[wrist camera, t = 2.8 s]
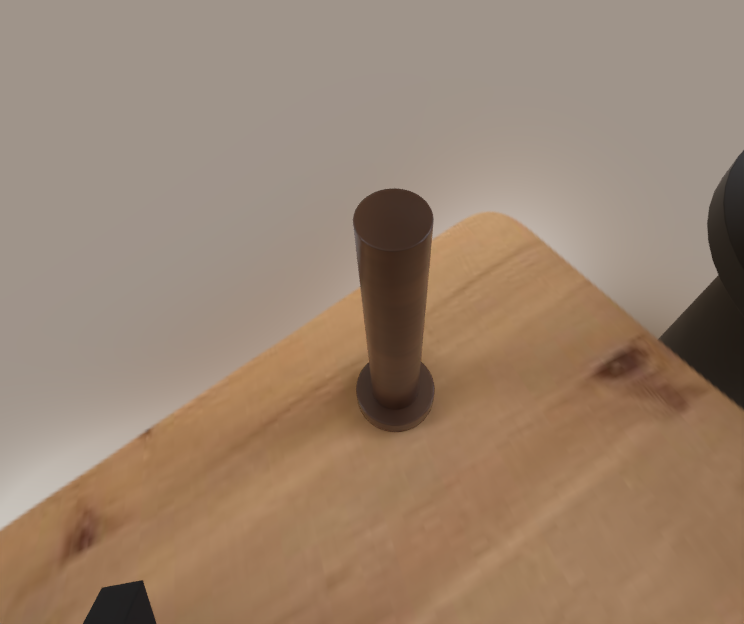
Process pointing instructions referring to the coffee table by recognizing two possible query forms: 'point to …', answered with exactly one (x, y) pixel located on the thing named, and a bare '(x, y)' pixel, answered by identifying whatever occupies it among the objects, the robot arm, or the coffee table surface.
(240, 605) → the coffee table surface
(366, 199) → the cylinder with round base
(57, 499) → the coffee table surface
